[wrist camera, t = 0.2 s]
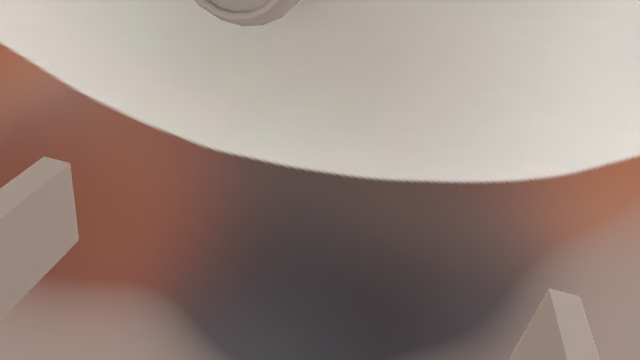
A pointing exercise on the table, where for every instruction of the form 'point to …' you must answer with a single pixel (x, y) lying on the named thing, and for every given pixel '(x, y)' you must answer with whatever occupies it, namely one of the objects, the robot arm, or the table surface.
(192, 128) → the table surface
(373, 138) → the table surface
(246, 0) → the can
